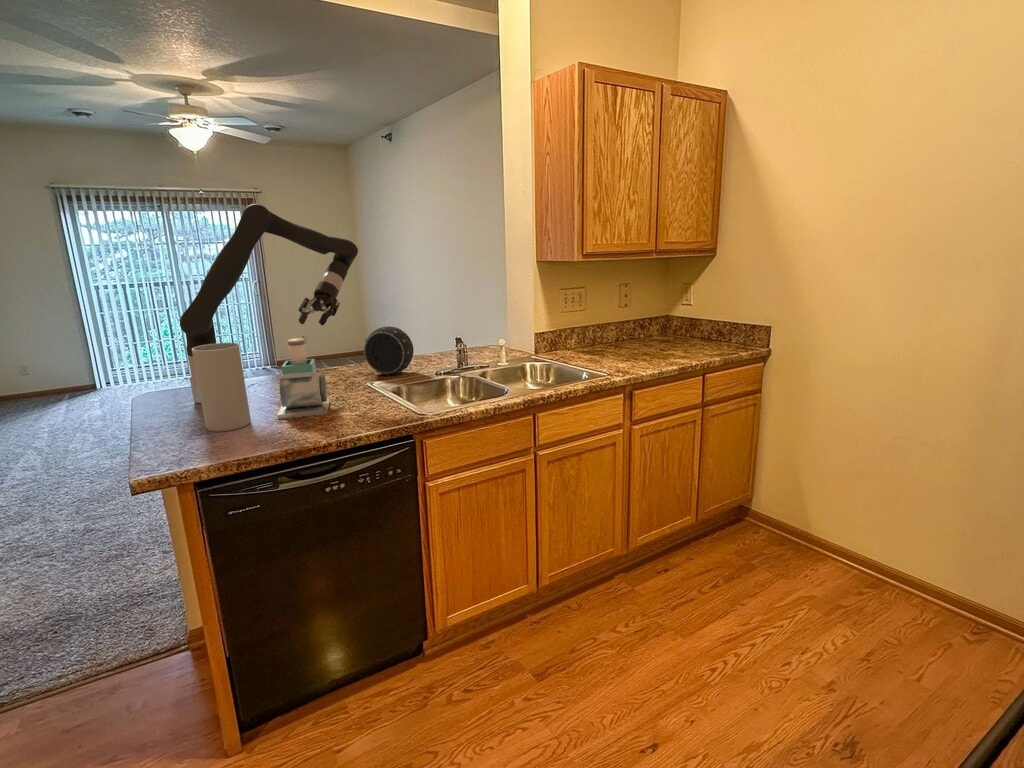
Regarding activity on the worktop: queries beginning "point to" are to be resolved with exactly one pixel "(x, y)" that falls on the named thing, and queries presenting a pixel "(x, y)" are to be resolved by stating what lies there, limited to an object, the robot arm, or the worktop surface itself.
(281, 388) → the motor
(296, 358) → the jar with metallic lid
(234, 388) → the cylinder vase
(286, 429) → the worktop surface
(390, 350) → the black wheel
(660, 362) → the worktop surface
